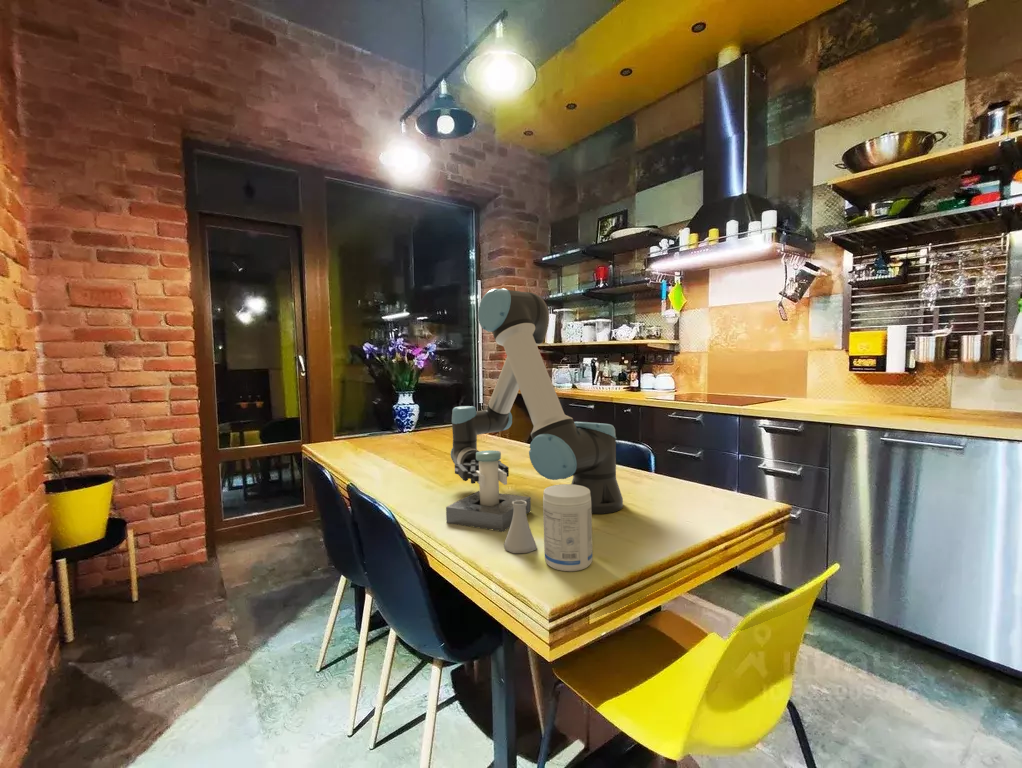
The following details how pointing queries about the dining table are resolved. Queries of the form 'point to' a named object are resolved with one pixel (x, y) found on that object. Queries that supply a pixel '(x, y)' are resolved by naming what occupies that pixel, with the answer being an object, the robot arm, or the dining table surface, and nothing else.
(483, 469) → the teal-capped white peg
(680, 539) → the dining table surface
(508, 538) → the flask
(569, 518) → the supplement tub
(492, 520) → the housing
